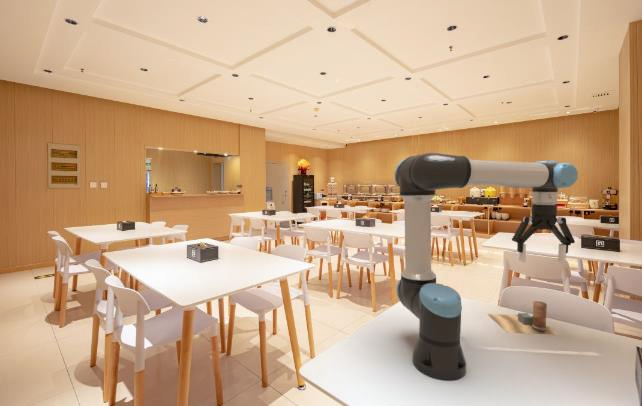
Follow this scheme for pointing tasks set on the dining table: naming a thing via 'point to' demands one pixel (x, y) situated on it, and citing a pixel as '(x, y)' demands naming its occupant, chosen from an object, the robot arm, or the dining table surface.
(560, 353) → the dining table surface
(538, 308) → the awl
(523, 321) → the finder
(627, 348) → the dining table surface
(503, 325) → the board
